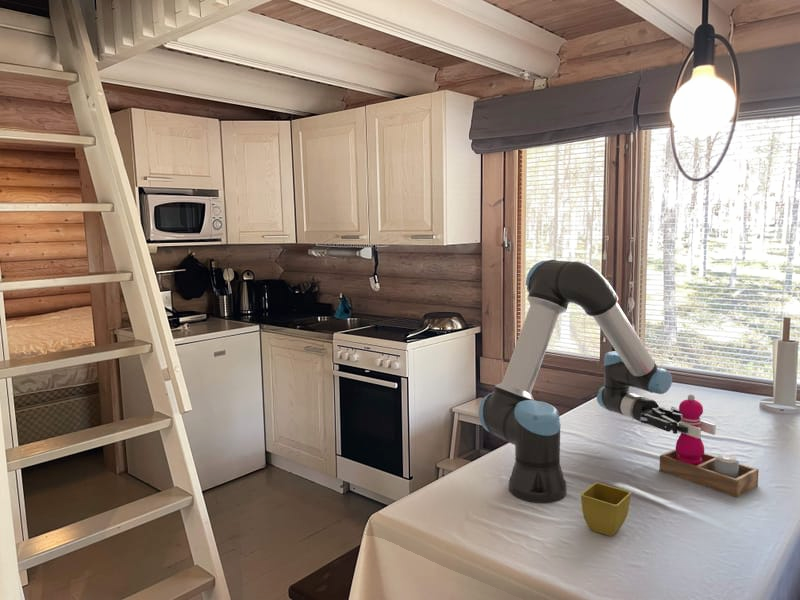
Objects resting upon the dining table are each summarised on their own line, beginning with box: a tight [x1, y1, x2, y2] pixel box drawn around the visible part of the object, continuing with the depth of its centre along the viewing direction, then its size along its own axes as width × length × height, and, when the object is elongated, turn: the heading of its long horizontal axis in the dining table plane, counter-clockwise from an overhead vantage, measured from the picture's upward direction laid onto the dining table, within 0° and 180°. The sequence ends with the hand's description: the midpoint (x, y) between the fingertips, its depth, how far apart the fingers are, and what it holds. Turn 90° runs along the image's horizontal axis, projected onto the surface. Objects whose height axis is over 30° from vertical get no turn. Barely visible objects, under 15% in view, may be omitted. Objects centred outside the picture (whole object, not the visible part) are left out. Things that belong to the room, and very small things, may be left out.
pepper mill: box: [675, 393, 705, 466], centre depth 165 cm, size 7×7×20 cm
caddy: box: [658, 448, 759, 498], centre depth 162 cm, size 11×21×6 cm, turn 34°
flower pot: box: [580, 482, 632, 537], centre depth 139 cm, size 9×9×9 cm
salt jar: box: [714, 454, 740, 479], centre depth 158 cm, size 6×6×7 cm
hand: (707, 431), depth 160 cm, fingers closed on pepper mill, 5 cm apart
